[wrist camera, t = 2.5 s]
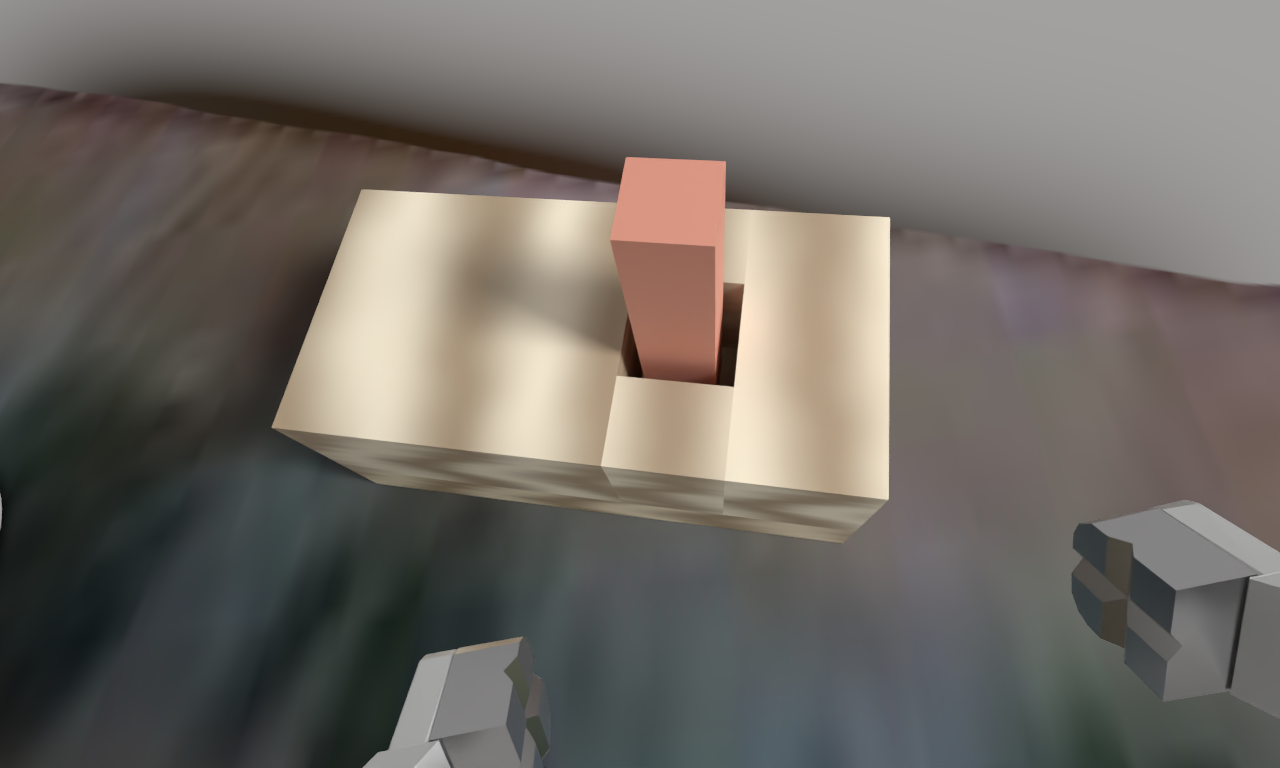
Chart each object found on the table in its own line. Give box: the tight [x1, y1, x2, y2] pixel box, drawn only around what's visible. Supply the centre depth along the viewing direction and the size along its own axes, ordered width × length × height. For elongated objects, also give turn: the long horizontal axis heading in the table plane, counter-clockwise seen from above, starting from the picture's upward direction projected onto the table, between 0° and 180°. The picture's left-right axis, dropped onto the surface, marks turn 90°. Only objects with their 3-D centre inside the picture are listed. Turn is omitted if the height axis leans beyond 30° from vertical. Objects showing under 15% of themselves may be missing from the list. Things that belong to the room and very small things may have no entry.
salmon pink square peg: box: [610, 157, 726, 385], centre depth 25 cm, size 3×3×14 cm
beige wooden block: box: [271, 189, 890, 543], centre depth 31 cm, size 24×12×9 cm, turn 81°
